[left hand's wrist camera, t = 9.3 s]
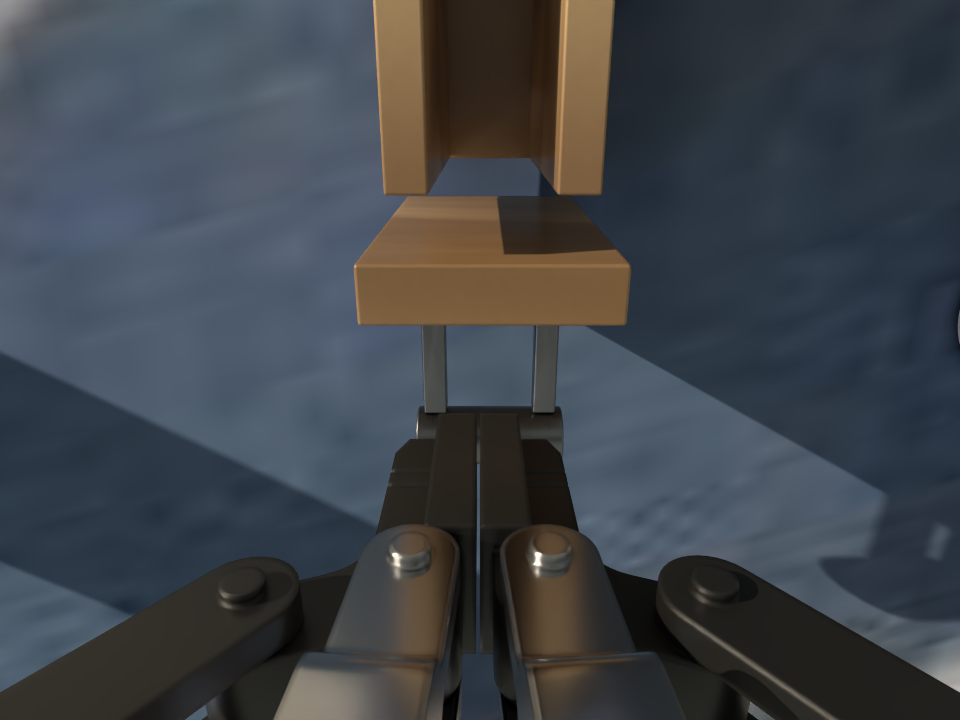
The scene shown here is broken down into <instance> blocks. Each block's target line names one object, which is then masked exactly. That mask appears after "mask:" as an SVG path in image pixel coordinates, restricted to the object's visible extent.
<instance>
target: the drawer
mask: <svg viewBox="0 0 960 720" xmlns="http://www.w3.org/2000/svg"><path fill="white" fill-rule="evenodd" d="M373 6H374V25H375V43H376V61H377V79H378V97H379V115H380V133H381V151H382V169H383V187H384V194H385V195H427V194H428V193H429V191H430V190H431V188H432V186H433V184H434V183H435V181H436V179H437V178H438V176H439V174H440V173H441V171H442V169H443V168H444V166H445V164H446V162H447V161H448V159H449V158H530V159H531V160H532V161H533V163H534V164H535V165H536V166H537V168H538V169H539V170H540V172H541V173H542V174H543V176H544V177H545V178H546V179H547V181H548V182H549V183H550V185H551V186H552V187H553V188H554V190H555V191H556V192H557V194H558V195H601V194H602V188H603V173H604V158H605V143H606V129H607V114H608V99H609V84H610V70H611V55H612V40H613V26H614V11H615V0H373ZM631 268H632V267H631V265H630V263H629V262H628V261H627V260H626V259H625V258H624V257H623V256H622V254H621V253H620V252H619V251H618V250H617V249H616V248H615V246H614V245H613V244H612V243H611V242H610V241H609V240H608V239H607V237H606V236H605V235H604V234H603V233H602V232H601V231H600V229H599V228H598V227H597V226H596V225H595V224H594V223H593V221H592V220H591V219H590V218H589V217H588V216H587V215H586V214H585V212H584V211H583V210H582V209H581V208H580V207H579V206H578V204H577V203H576V202H575V201H574V200H573V199H572V198H571V197H570V196H408V197H407V198H406V199H405V201H404V202H403V203H402V205H401V206H400V207H399V208H398V210H397V211H396V212H395V214H394V215H393V216H392V217H391V219H390V220H389V221H388V223H387V224H386V225H385V226H384V228H383V229H382V230H381V232H380V233H379V234H378V235H377V237H376V238H375V239H374V241H373V242H372V243H371V244H370V246H369V247H368V248H367V250H366V251H365V252H364V253H363V255H362V256H361V257H360V259H359V260H358V261H357V262H356V264H355V265H354V277H355V291H356V304H357V317H358V323H359V325H421V334H422V361H423V388H424V406H420V407H419V409H418V413H417V424H416V439H435V436H436V429H437V421H438V415H439V414H477V464H480V414H518V417H519V425H520V433H521V439H547V440H548V441H549V442H550V443H551V444H552V445H553V446H554V447H555V448H556V449H557V450H558V451H559V452H560V453H561V456H562V455H563V419H562V412H561V409H560V407H559V406H555V399H556V378H557V357H558V335H559V326H623V325H626V323H627V314H628V302H629V291H630V280H631ZM446 325H502V326H534V338H533V369H532V401H531V404H532V406H447V405H448V395H447V349H446Z"/></svg>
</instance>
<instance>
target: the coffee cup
mask: <svg viewBox="0 0 960 720" xmlns="http://www.w3.org/2000/svg"><path fill="white" fill-rule="evenodd" d="M958 336H959V342H960V312H959V318H958Z"/></svg>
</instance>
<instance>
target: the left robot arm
mask: <svg viewBox="0 0 960 720" xmlns="http://www.w3.org/2000/svg"><path fill="white" fill-rule="evenodd" d="M388 484H389V485H388V487H387V491H386V495H385V500H384V504H383V508H382V512H381V516H380V520H379V524H378V529H377V533H376V535H375V536H374V537H373V538H371V539H370V540H369V541H368V542H367V543H366V545H365V546H364V548H363V550H362V551H361V554H360V557H359V559H358V561H356V562H355V563H353V564H351V565H349V566H347V567H345V568H344V569H341V570H338V571H336V572H333V573H329V574H325V575H321V576H317V577H312V578H308V579H304V580H299V577H298V574H297V572H296V571H295V569H294V568H293V567H292V566H291V565H289V564H288V563H286V562H284V561H282V560H279V559H276V558H270V557H250V558H245V559H240V560H236V561H233V562H230V563H227V564H225V565H222V566H220V567H218V568H216V569H214V570H213V571H211V572H209V573H207V574H206V575H204V576H202V577H200V578H199V579H197V580H195V581H193V582H192V583H190V584H188V585H186V586H185V587H183V588H181V589H180V590H178V591H176V592H174V593H173V594H171V595H169V596H167V597H166V598H164V599H162V600H160V601H159V602H157V603H155V604H153V605H152V606H150V607H148V608H146V609H145V610H143V611H141V612H139V613H138V614H136V615H134V616H133V617H131V618H129V619H127V620H126V621H124V622H122V623H120V624H119V625H117V626H115V627H113V628H112V629H110V630H108V631H106V632H105V633H103V634H101V635H99V636H98V637H96V638H94V639H93V640H91V641H89V642H87V643H86V644H84V645H82V646H80V647H79V648H77V649H75V650H73V651H72V652H70V653H68V654H66V655H65V656H63V657H61V658H59V659H58V660H56V661H54V662H52V663H51V664H49V665H47V666H46V667H44V668H42V669H40V670H39V671H37V672H35V673H33V674H32V675H30V676H28V677H26V678H25V679H23V680H21V681H19V682H18V683H16V684H14V685H12V686H11V687H9V688H7V689H6V690H4V691H2V692H0V720H185V719H186V718H188V717H189V716H190V715H192V714H193V713H194V712H196V711H197V710H198V709H200V708H201V707H203V706H204V705H205V704H206V709H207V714H208V715H207V716H206V717H205V718H203V719H202V720H460V714H461V706H462V654H476V554H477V414H439V415H438V421H437V429H436V436H435V439H410V440H409V441H408V442H407V443H406V444H405V445H404V446H403V447H402V448H401V449H399V450H398V451H397V452H396V454H395V458H394V462H393V466H392V473H391V475H390V479H389V483H388ZM480 654H493V659H494V678H495V682H496V684H497V687H498V706H499V714H500V720H758V719H757V718H755V717H754V716H753V715H751V714H750V713H749V712H748V709H749V704H750V701H751V702H752V703H753V704H755V705H756V706H757V707H759V708H760V709H762V710H763V711H764V712H766V713H767V714H768V715H770V716H771V717H772V718H774V719H775V720H960V692H958V691H956V690H954V689H953V688H951V687H949V686H947V685H946V684H944V683H942V682H941V681H939V680H937V679H935V678H934V677H932V676H930V675H928V674H927V673H925V672H923V671H921V670H920V669H918V668H916V667H914V666H913V665H911V664H909V663H907V662H906V661H904V660H902V659H901V658H899V657H897V656H895V655H894V654H892V653H890V652H888V651H887V650H885V649H883V648H881V647H880V646H878V645H876V644H874V643H873V642H871V641H869V640H867V639H866V638H864V637H862V636H861V635H859V634H857V633H855V632H854V631H852V630H850V629H848V628H847V627H845V626H843V625H841V624H840V623H838V622H836V621H834V620H833V619H831V618H829V617H827V616H826V615H824V614H822V613H820V612H819V611H817V610H815V609H814V608H812V607H810V606H808V605H807V604H805V603H803V602H801V601H800V600H798V599H796V598H794V597H793V596H791V595H789V594H787V593H786V592H784V591H782V590H780V589H779V588H777V587H775V586H774V585H772V584H770V583H768V582H767V581H765V580H763V579H761V578H760V577H758V576H756V575H754V574H753V573H751V572H749V571H747V570H746V569H744V568H742V567H740V566H738V565H736V564H734V563H731V562H729V561H726V560H723V559H719V558H715V557H710V556H700V555H696V556H685V557H680V558H677V559H675V560H673V561H671V562H669V563H668V564H666V565H665V566H664V567H663V569H662V570H661V572H660V574H659V578H658V581H655V580H651V579H646V578H642V577H637V576H633V575H629V574H625V573H622V572H619V571H616V570H614V569H611V568H609V567H607V566H606V565H604V564H603V562H602V559H601V557H600V554H599V551H598V550H597V548H596V546H595V545H594V543H593V542H592V541H591V540H590V539H589V538H587V537H586V536H585V535H583V534H582V533H580V532H579V530H578V525H577V521H576V517H575V512H574V508H573V504H572V499H571V495H570V491H569V487H568V482H567V478H566V473H565V469H564V465H563V460H562V456H561V453H560V452H559V451H558V450H557V449H556V448H555V447H554V446H553V445H552V444H551V443H550V442H549V441H548V440H547V439H521V433H520V425H519V417H518V414H480Z"/></svg>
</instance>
